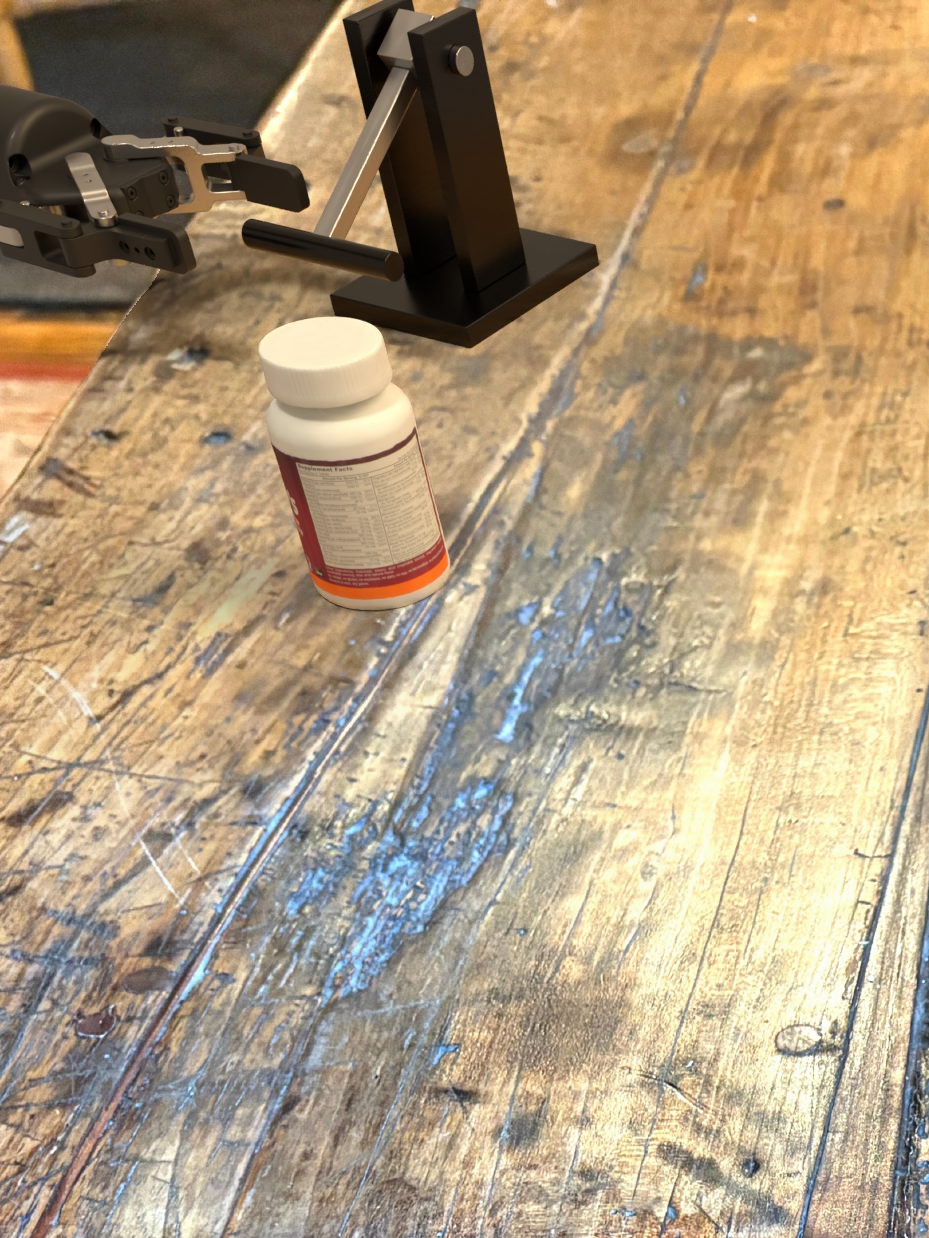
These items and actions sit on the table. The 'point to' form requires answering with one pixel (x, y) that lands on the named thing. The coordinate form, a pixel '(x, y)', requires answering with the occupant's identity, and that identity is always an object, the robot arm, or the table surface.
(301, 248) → the flush lever
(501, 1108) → the table surface
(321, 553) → the pill bottle
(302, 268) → the table surface
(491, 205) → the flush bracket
